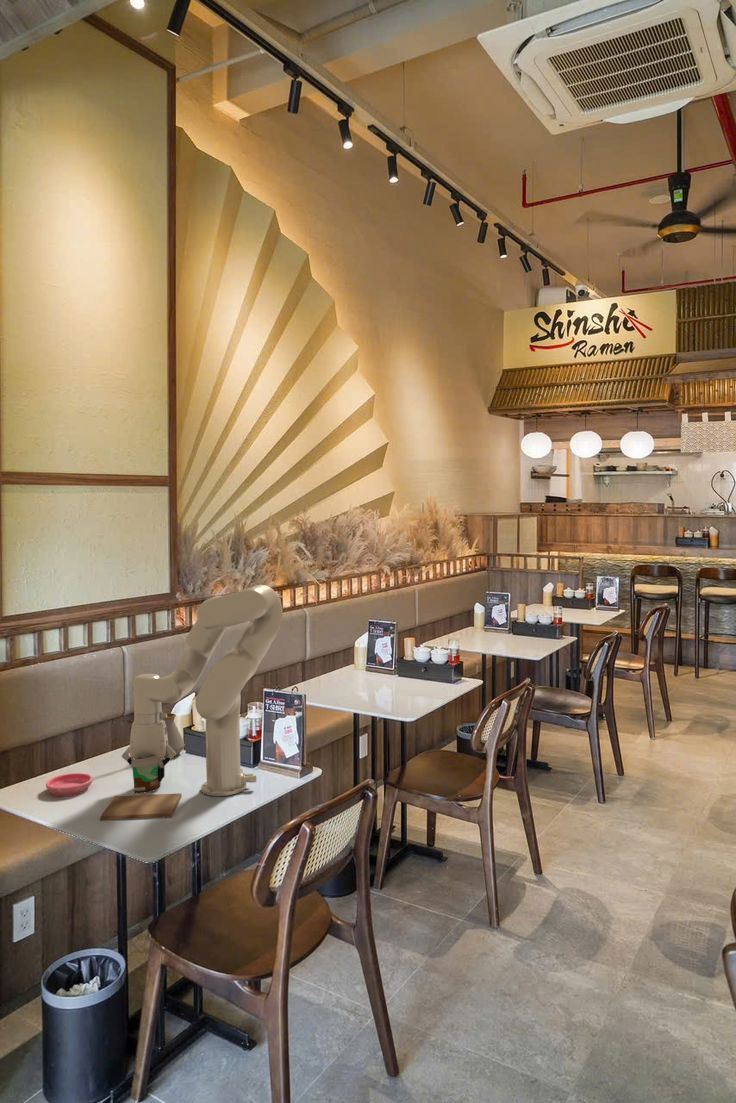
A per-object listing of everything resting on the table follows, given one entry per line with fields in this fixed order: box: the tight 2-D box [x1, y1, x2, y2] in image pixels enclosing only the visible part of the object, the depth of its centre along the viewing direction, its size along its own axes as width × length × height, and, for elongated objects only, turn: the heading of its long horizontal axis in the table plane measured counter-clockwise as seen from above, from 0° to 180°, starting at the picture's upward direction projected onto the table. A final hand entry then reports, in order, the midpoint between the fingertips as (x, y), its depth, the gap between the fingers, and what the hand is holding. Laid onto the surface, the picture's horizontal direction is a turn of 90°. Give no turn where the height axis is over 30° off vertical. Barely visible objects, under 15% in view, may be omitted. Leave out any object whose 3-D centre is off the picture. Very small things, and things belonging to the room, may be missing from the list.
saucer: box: [45, 772, 94, 797], centre depth 215 cm, size 12×12×3 cm
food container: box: [130, 756, 163, 794], centre depth 216 cm, size 12×6×10 cm, turn 169°
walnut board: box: [100, 792, 182, 821], centre depth 201 cm, size 18×14×1 cm
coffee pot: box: [120, 712, 186, 759], centre depth 242 cm, size 21×12×15 cm, turn 138°
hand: (149, 779), depth 216 cm, fingers closed on food container, 5 cm apart
